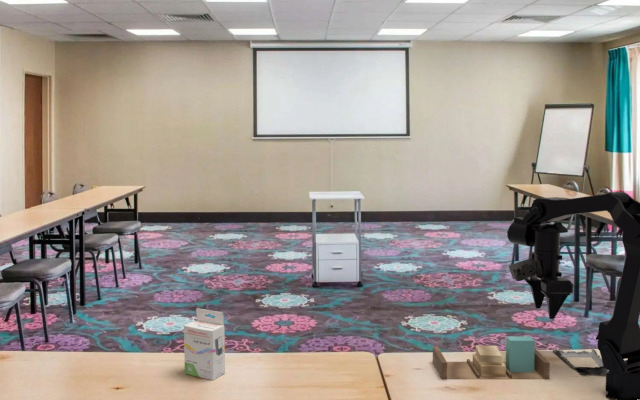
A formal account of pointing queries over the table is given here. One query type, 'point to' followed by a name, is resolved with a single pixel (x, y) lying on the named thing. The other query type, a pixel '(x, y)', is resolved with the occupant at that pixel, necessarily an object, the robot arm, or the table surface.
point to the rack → (469, 372)
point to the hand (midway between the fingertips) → (544, 313)
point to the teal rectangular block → (520, 353)
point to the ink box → (205, 345)
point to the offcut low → (489, 369)
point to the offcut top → (488, 355)
